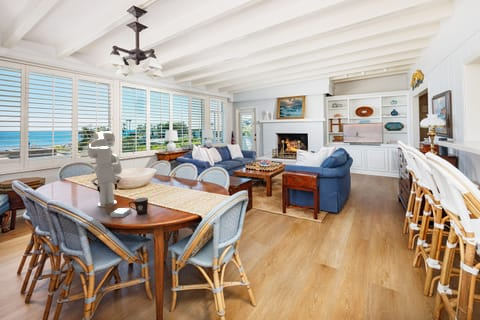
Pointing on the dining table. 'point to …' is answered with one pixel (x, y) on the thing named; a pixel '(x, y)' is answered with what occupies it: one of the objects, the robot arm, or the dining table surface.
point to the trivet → (120, 212)
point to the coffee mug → (141, 205)
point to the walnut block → (109, 208)
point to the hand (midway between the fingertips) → (107, 190)
